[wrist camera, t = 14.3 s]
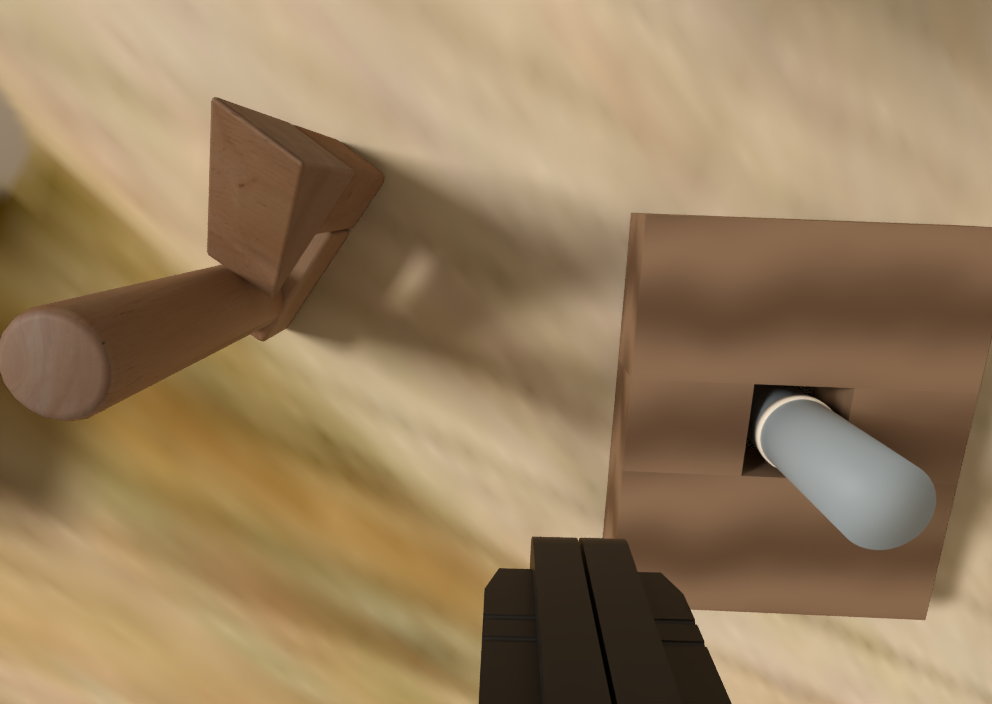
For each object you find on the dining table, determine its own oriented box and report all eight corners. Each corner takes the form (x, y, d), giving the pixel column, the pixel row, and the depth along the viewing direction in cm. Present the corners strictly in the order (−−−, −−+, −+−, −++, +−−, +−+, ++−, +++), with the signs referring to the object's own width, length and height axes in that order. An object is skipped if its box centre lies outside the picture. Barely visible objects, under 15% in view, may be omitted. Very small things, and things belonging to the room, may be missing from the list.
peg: (735, 373, 36) (842, 455, 25) (807, 376, 36) (948, 460, 24) (726, 440, 37) (825, 549, 26) (796, 443, 37) (927, 554, 25)
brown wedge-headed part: (388, 177, 34) (261, 153, 16) (286, 330, 36) (78, 453, 19) (332, 135, 34) (140, 65, 16) (232, 293, 36) (-33, 383, 18)
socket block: (631, 213, 34) (646, 214, 30) (959, 225, 34) (1017, 228, 30) (600, 565, 39) (610, 605, 35) (883, 578, 39) (925, 619, 35)
